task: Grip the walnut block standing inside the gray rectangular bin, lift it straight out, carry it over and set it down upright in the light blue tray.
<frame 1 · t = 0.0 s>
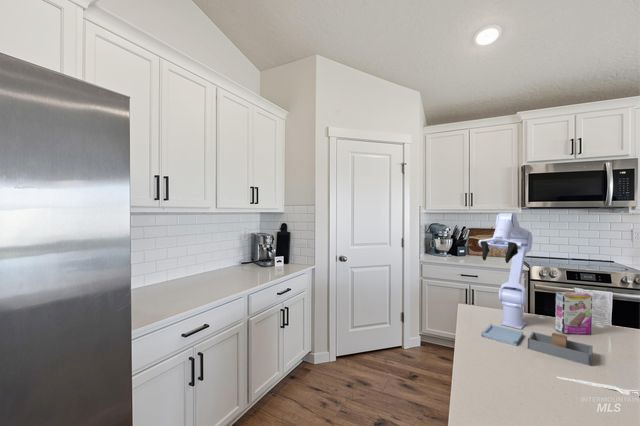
hand: (494, 259, 110), 32 cm above the counter, tool tilted 50°, fingers open, 7 cm apart
fork: (600, 388, 84), on the counter
light blue tray: (502, 336, 118), on the counter
candy bar box: (573, 333, 122), on the counter
walnut block: (559, 344, 105), in the gray rectangular bin
gray rectangular bin: (559, 352, 105), on the counter
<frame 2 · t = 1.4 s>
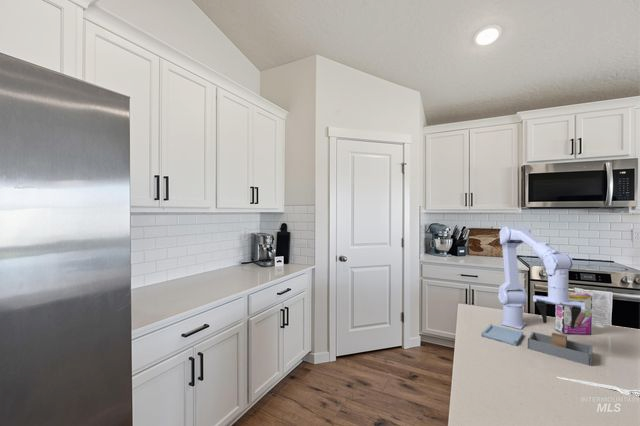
hand: (558, 325, 104), 10 cm above the counter, tool pointing down, fingers open, 7 cm apart
nothing on the counter moved.
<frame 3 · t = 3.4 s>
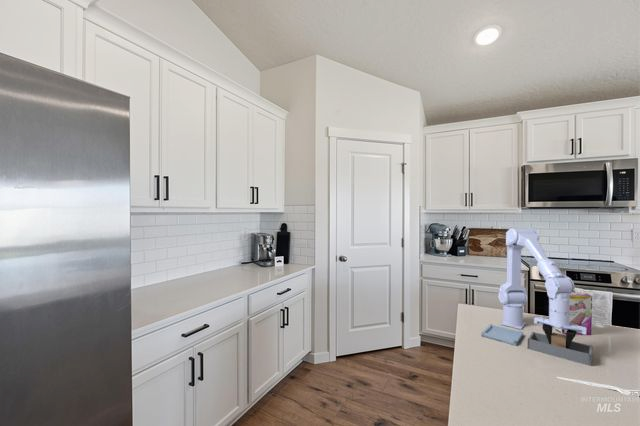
hand: (559, 348, 105), 1 cm above the counter, tool pointing down, fingers closed on walnut block, 4 cm apart
walnut block: (559, 343, 105), in the gray rectangular bin, touching gripper
everything else where it was.
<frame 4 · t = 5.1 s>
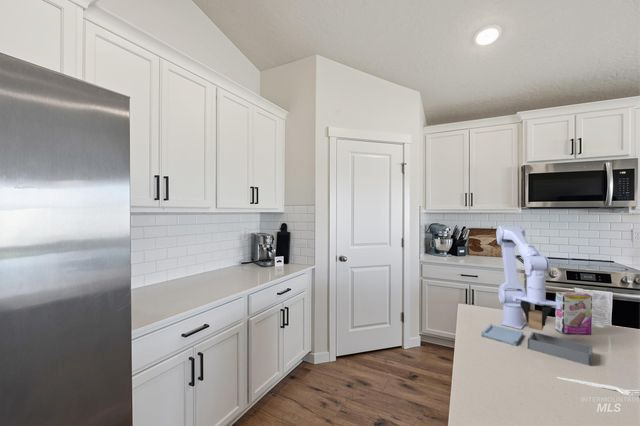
hand: (535, 323, 110), 8 cm above the counter, tool pointing down, fingers closed on walnut block, 4 cm apart
walnut block: (536, 319, 110), point 10 cm above the counter, touching gripper
everything else where it was.
when the fingers open (4 cm above the counter, at t = 7.1 s): walnut block drops 2 cm, resting on light blue tray.
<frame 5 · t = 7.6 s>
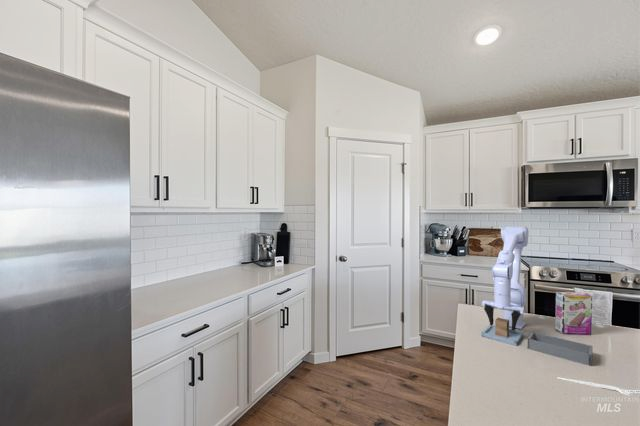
hand: (502, 327, 118), 4 cm above the counter, tool pointing down, fingers open, 7 cm apart
walnut block: (502, 327, 118), point 4 cm above the counter, touching light blue tray
everything else where it was.
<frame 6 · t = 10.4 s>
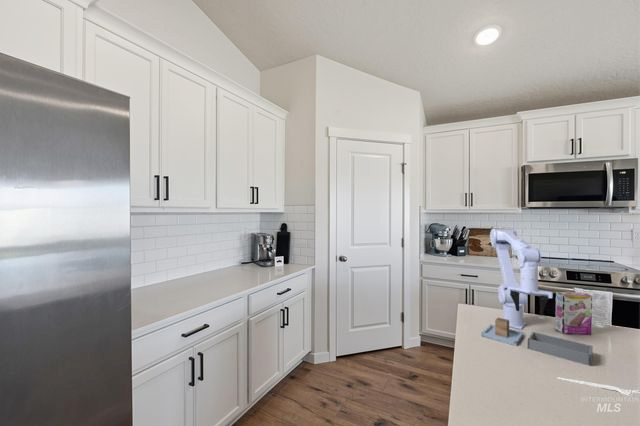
hand: (529, 312, 115), 10 cm above the counter, tool pointing down, fingers open, 7 cm apart
nothing on the counter moved.
at the end: walnut block inside the target area on the light blue tray (0.1 cm from its centre), point 3.6 cm above the light blue tray's base; walnut block tilted 0°; the gripper is holding nothing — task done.
